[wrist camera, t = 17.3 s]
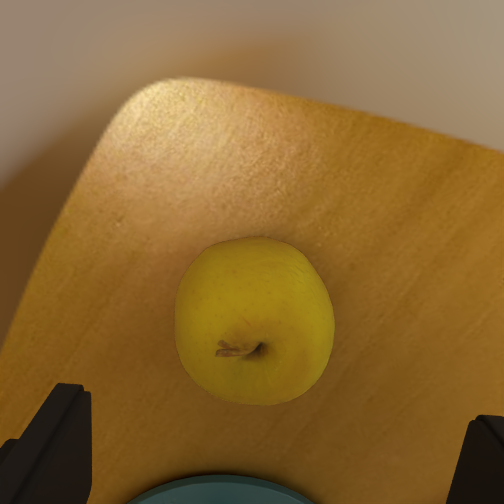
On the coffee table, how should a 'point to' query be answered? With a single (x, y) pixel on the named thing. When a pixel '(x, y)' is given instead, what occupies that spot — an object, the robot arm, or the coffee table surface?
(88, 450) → the robot arm
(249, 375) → the apple
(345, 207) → the coffee table surface
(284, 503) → the lid
